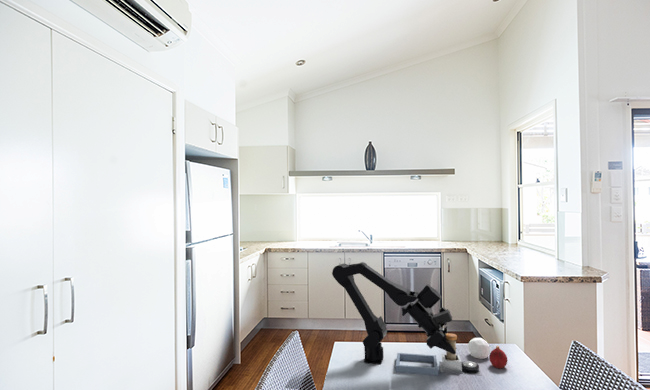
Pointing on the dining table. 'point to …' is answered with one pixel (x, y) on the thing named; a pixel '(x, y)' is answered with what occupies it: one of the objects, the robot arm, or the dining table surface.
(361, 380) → the dining table surface
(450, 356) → the orange-brown round-topped piece
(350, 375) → the dining table surface
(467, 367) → the grey piece
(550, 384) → the dining table surface
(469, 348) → the ball
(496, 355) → the onion
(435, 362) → the tray
